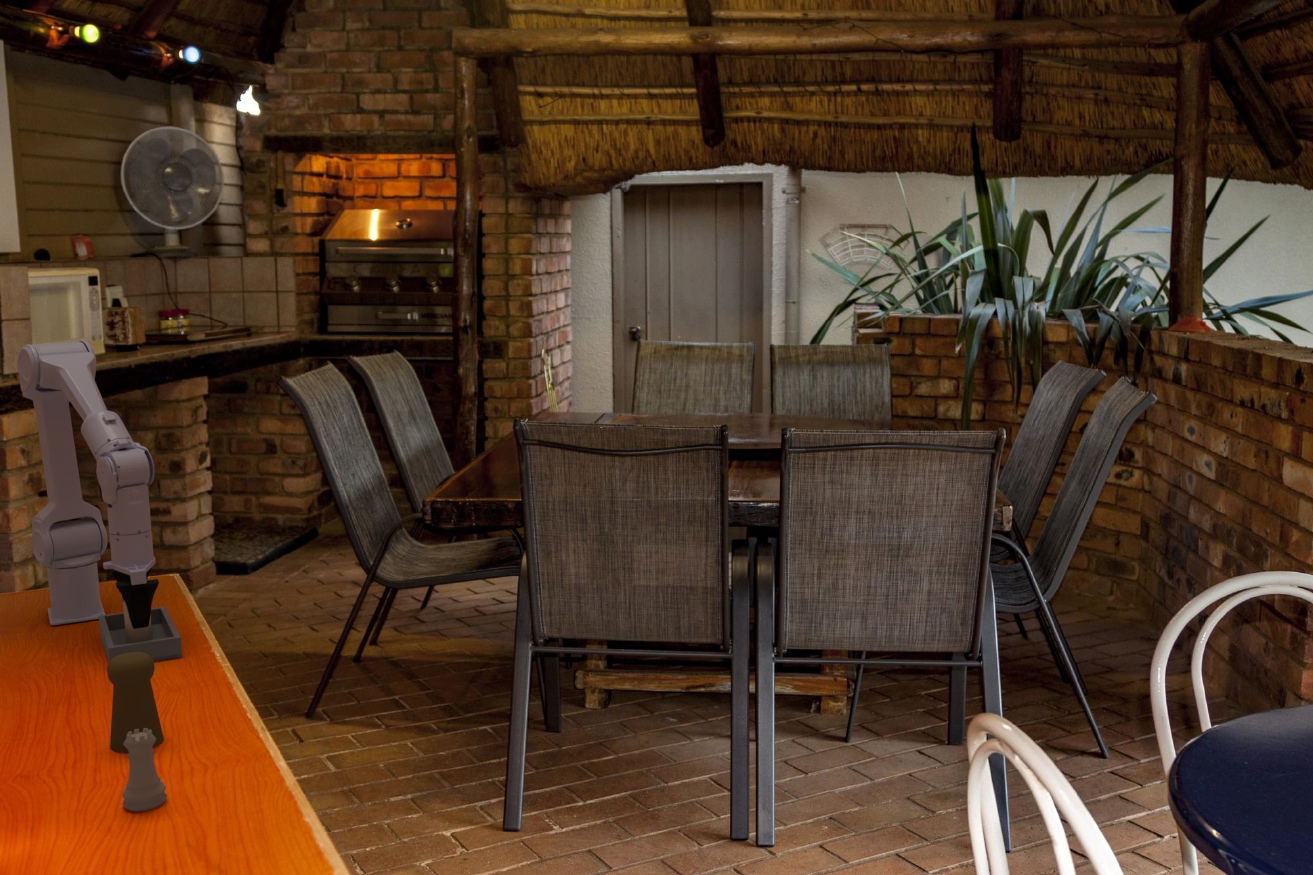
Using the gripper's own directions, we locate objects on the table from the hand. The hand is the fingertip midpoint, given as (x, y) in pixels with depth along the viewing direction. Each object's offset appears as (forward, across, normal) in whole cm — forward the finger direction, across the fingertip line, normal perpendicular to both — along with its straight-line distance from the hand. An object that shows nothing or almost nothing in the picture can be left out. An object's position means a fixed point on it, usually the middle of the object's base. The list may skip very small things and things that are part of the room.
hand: (137, 620), depth 185 cm
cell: (+3, 0, 0) cm, 3 cm away
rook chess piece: (+4, +57, -5) cm, 57 cm away
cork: (+4, +39, -4) cm, 39 cm away
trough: (+4, 0, 0) cm, 4 cm away
